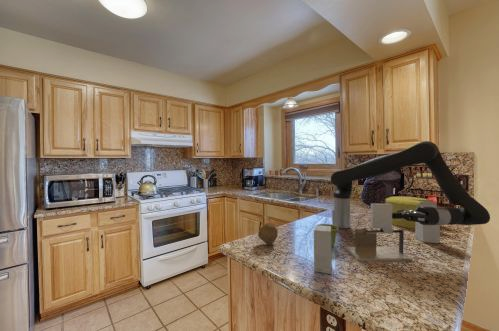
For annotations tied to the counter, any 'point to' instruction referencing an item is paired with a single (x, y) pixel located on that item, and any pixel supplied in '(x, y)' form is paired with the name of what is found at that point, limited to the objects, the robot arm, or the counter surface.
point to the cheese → (405, 204)
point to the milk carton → (427, 227)
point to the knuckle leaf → (381, 217)
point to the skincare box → (322, 249)
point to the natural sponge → (268, 233)
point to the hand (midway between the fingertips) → (391, 215)
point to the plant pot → (332, 233)
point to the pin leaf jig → (369, 251)
